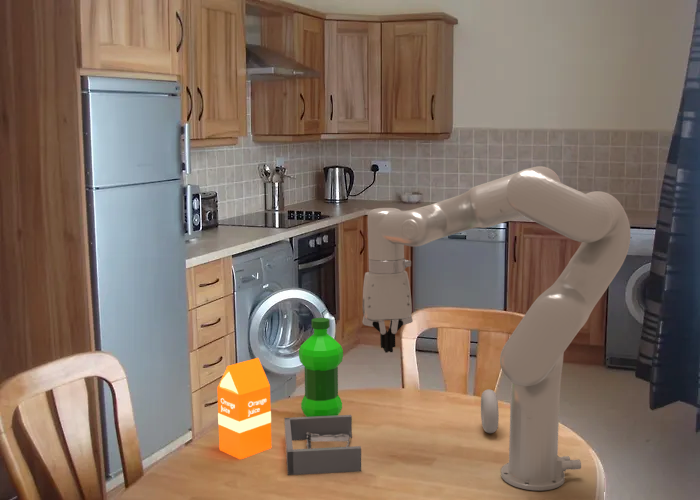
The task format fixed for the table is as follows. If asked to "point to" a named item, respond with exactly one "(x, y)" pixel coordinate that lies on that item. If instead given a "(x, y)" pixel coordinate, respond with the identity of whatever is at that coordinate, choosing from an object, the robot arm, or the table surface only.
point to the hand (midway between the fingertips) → (388, 350)
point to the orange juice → (244, 410)
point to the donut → (489, 411)
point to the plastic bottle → (321, 371)
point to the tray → (320, 457)
